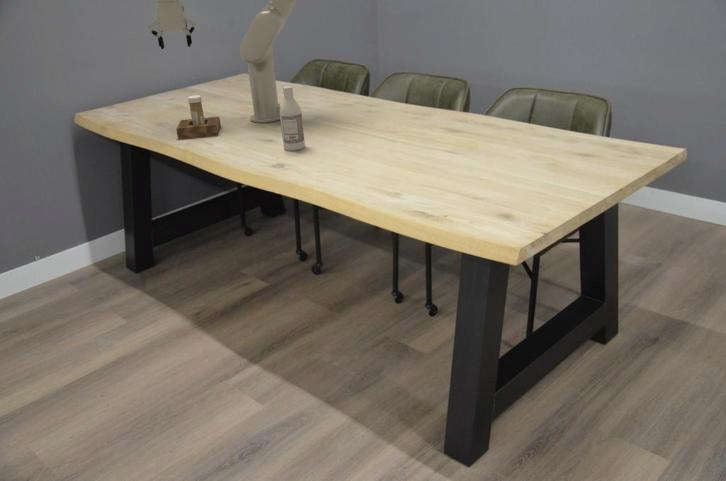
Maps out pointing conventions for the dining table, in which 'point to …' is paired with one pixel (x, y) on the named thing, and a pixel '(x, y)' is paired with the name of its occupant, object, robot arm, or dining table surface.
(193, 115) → the sprinkles bottle
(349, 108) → the dining table surface
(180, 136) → the socket board
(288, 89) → the bath foam
